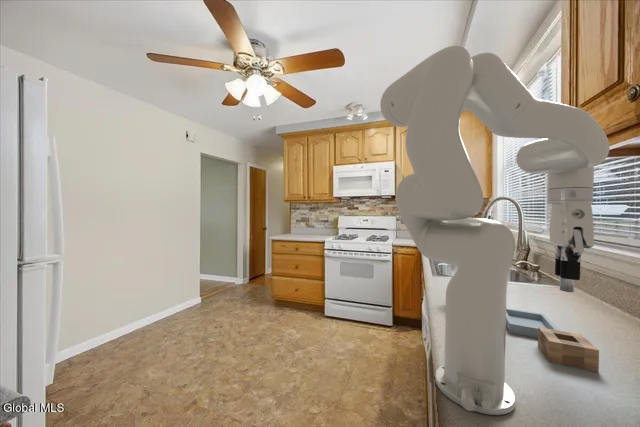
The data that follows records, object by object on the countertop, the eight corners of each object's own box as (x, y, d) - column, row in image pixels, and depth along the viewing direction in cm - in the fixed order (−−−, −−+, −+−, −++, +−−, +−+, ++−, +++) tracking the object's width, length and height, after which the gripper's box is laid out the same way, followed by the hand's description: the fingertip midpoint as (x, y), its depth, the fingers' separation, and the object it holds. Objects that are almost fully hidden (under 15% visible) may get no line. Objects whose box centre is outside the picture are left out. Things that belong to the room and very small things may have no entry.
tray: (561, 342, 66) (561, 332, 66) (509, 332, 71) (509, 323, 71) (543, 322, 79) (544, 314, 79) (500, 315, 84) (500, 307, 84)
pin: (576, 292, 57) (577, 248, 57) (561, 291, 58) (563, 247, 58) (571, 290, 59) (572, 246, 59) (557, 288, 61) (559, 246, 61)
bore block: (598, 372, 54) (599, 350, 54) (548, 361, 57) (549, 341, 57) (580, 353, 61) (581, 334, 61) (537, 345, 64) (538, 327, 64)
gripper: (612, 194, 50) (609, 288, 50) (575, 199, 64) (573, 273, 64) (561, 194, 53) (558, 283, 53) (537, 199, 68) (535, 269, 68)
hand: (566, 276), depth 59 cm, fingers closed on pin, 2 cm apart
